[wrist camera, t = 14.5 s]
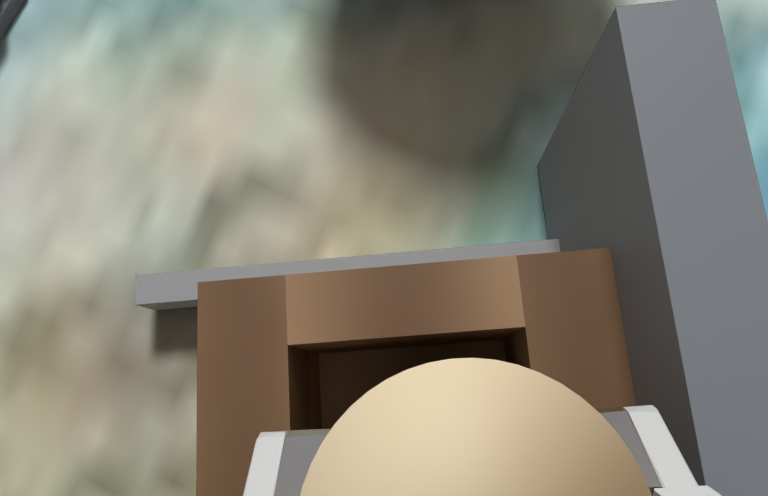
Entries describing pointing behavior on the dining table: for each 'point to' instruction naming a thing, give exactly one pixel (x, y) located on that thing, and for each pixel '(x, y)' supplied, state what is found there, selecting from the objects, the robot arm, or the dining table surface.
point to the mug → (8, 13)
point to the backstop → (643, 232)
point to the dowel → (473, 438)
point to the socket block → (392, 341)
